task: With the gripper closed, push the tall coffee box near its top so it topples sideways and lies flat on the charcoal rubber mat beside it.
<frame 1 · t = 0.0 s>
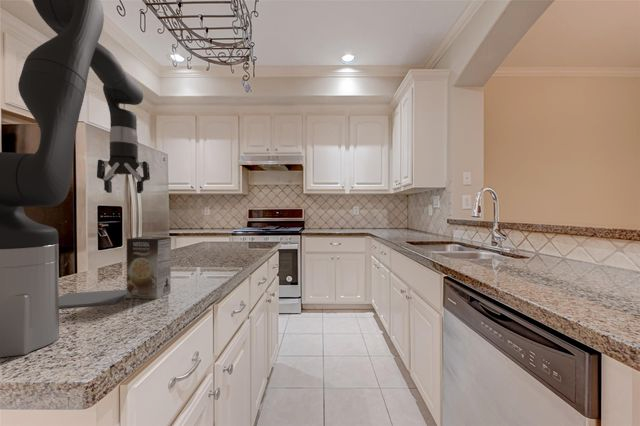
hand: (124, 192, 92), 29 cm above the countertop, fingers open, 8 cm apart
coffee box: (149, 296, 78), on the countertop
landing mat: (89, 299, 75), on the countertop
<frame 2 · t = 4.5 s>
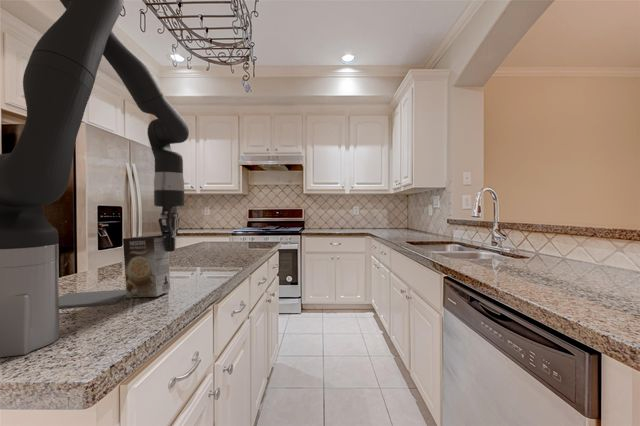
hand: (170, 251, 80), 12 cm above the countertop, fingers closed
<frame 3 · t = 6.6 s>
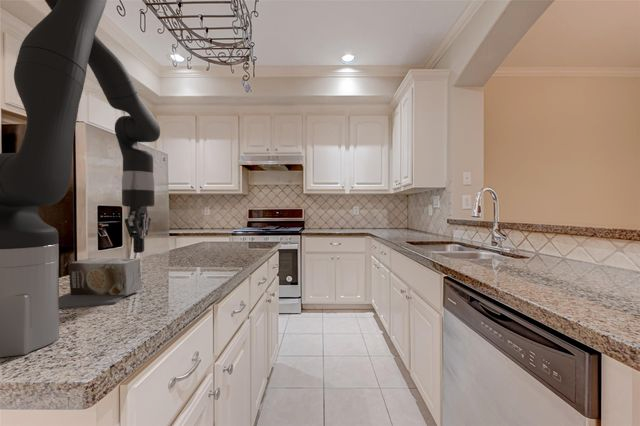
hand: (139, 252, 78), 12 cm above the countertop, fingers closed
coffee box: (134, 276, 79), point 5 cm above the countertop, touching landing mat
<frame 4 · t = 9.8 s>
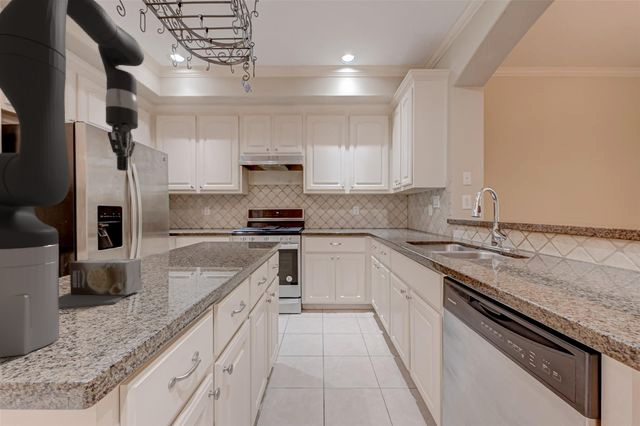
hand: (122, 170, 81), 35 cm above the countertop, fingers closed
nothing on the countertop moved.
at the end: coffee box tilted 91°; coffee box touching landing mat; the gripper is holding nothing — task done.
